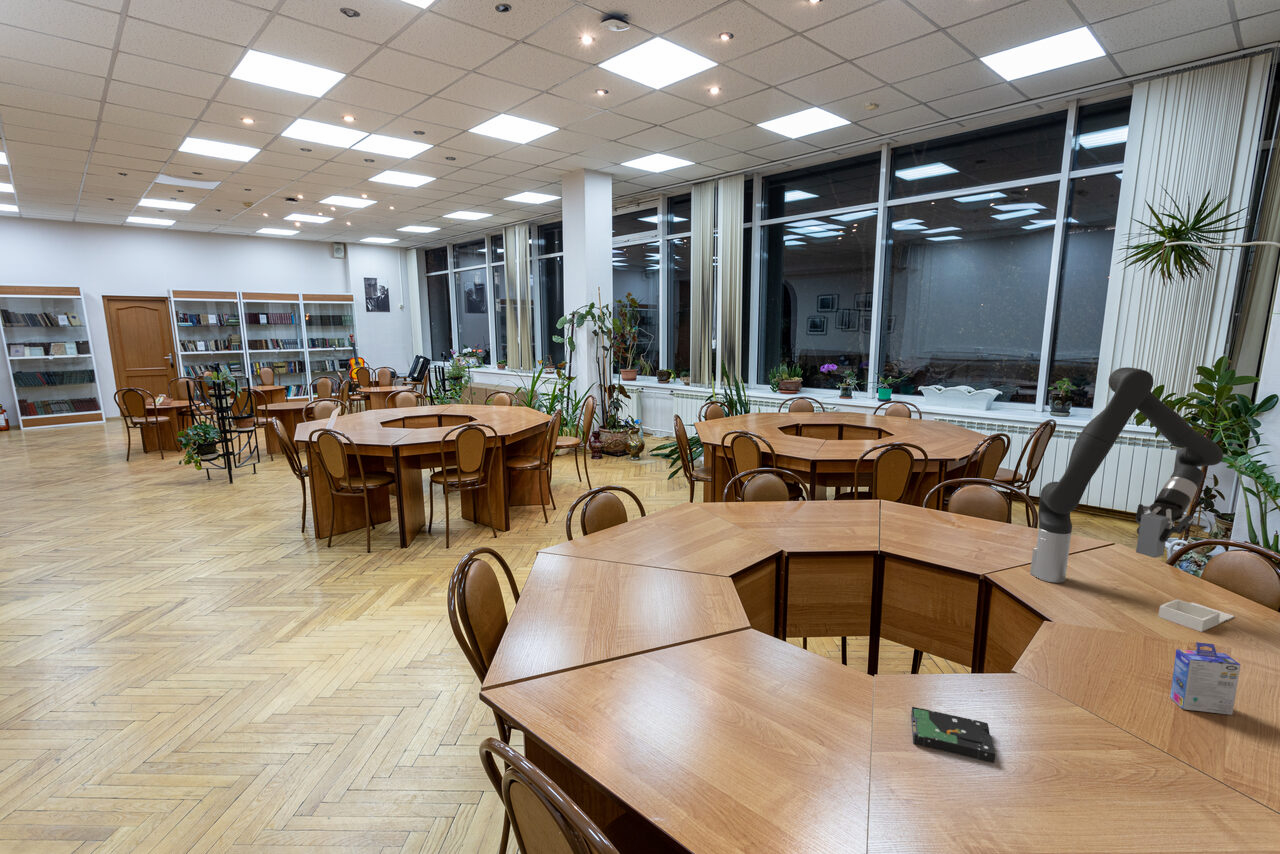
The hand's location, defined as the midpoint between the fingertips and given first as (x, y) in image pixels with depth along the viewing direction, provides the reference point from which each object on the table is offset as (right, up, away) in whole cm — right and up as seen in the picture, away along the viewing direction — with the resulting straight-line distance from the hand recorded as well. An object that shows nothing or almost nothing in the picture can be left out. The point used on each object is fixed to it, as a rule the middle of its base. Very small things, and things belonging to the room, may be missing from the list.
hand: (1150, 537), depth 185 cm
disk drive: (-91, -32, -58) cm, 113 cm away
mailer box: (+11, -23, -4) cm, 26 cm away
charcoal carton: (+1, -5, +1) cm, 5 cm away
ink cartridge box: (-28, -30, -47) cm, 62 cm away
